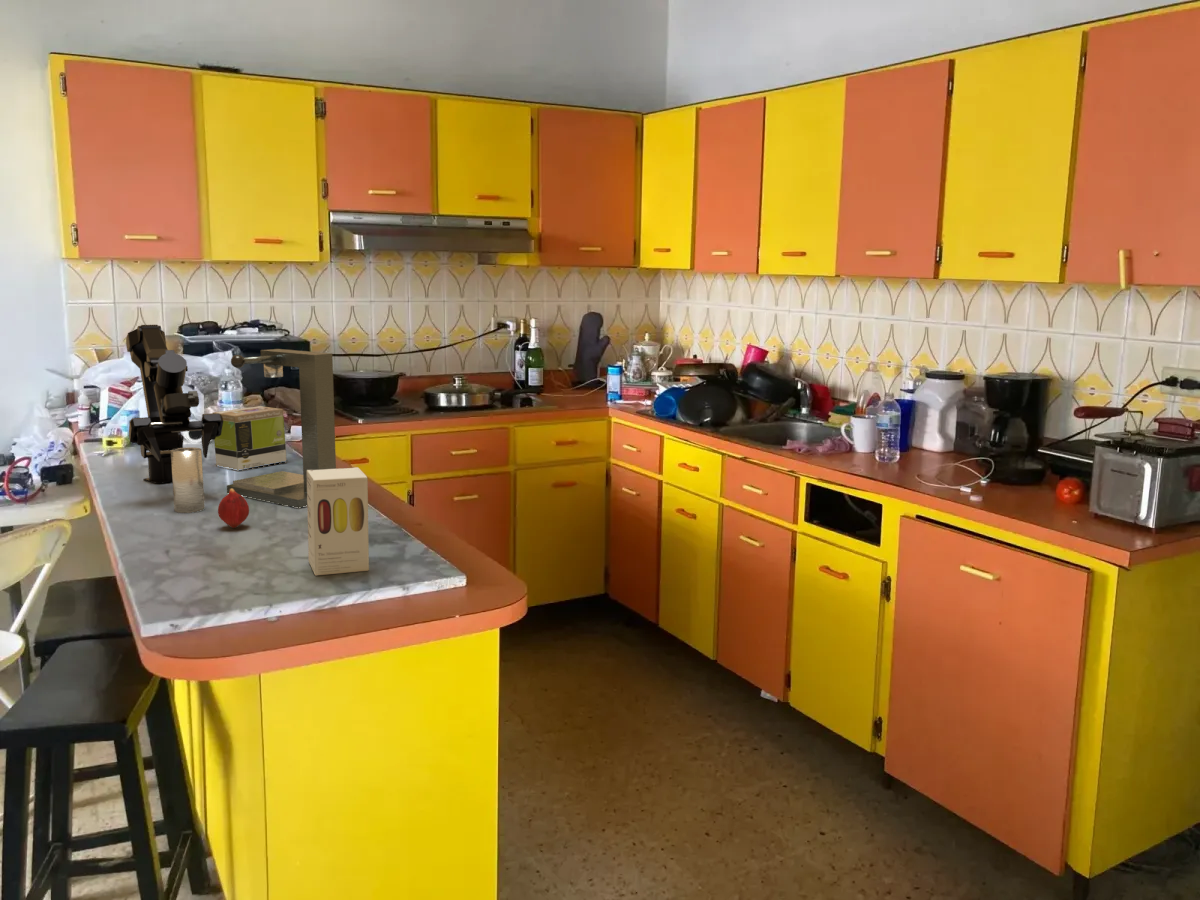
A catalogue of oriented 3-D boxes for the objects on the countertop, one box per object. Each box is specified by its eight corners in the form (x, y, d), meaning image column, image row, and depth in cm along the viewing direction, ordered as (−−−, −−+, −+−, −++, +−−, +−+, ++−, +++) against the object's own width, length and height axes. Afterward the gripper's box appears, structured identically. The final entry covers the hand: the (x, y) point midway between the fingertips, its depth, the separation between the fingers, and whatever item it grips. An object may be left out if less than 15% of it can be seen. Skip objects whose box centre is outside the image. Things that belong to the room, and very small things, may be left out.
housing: (168, 510, 209) (164, 449, 207) (193, 504, 214) (189, 445, 212) (186, 514, 206) (182, 453, 204) (210, 508, 211) (207, 448, 209)
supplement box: (314, 576, 167) (310, 479, 164) (307, 561, 175) (303, 469, 172) (371, 570, 170) (368, 476, 167) (361, 556, 179) (359, 465, 176)
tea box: (264, 458, 267) (261, 404, 264) (287, 463, 261) (285, 408, 258) (214, 467, 255) (211, 410, 252) (237, 472, 249) (234, 414, 246)
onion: (256, 526, 198) (254, 487, 196) (234, 532, 193) (232, 493, 191) (234, 522, 200) (232, 484, 199) (212, 529, 195) (210, 490, 194)
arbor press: (204, 498, 220) (196, 351, 214) (283, 481, 238) (277, 345, 232) (278, 514, 207) (271, 358, 201) (355, 495, 226) (350, 352, 220)
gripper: (126, 380, 208) (138, 439, 201) (219, 377, 218) (233, 433, 211) (124, 413, 216) (135, 470, 208) (213, 407, 226) (226, 463, 218)
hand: (183, 458), depth 211 cm, fingers open, 9 cm apart
